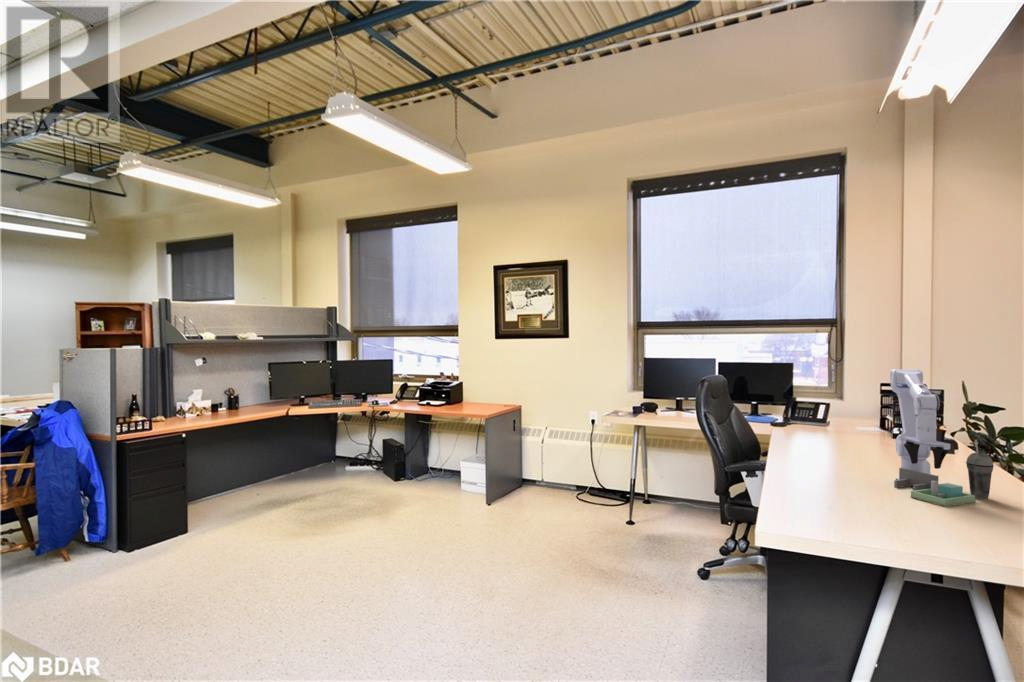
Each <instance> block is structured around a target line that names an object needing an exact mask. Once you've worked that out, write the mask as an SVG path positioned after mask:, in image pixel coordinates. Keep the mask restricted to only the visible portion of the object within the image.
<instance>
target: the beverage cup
mask: <svg viewBox="0 0 1024 682" xmlns="http://www.w3.org/2000/svg"><path fill="white" fill-rule="evenodd" d="M974 443H975V451H976V452H973V453H970V454H969V455H968V456H967V458H966V462H965V465H966V468H967V473H968V481H969V482H968V484H969V493H970V494H971V495H975V499H976V498H978V500H983V499H987V500H989V497H990V490H991V482H992V475H993V474H992V473H993V471H994V466H995V465H994V461H993V459H992V458H991V457H990V456H989V455H988V454H987V453H984V452H979V446H978V439H974Z"/></svg>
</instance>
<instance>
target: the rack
mask: <svg viewBox="0 0 1024 682" xmlns="http://www.w3.org/2000/svg"><path fill="white" fill-rule="evenodd" d="M898 468H899V470H898V471H899V472H898V475H899V476H898V478H899V480H896V479H894V482H893V483H894V484H893V485H894V488H896V487H898V488H902V487H901V486H906V487H911V486H913V487H912V491H915V490H923V489H930V488H931V481H938V482H939V475H935V474H931V473H930V474H927V473H923V472H918V471H914V470H909V469H905V468H901V467H898Z"/></svg>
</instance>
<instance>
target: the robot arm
mask: <svg viewBox="0 0 1024 682" xmlns="http://www.w3.org/2000/svg"><path fill="white" fill-rule="evenodd" d="M889 374H890V375H889V382H890V387H891V391H892V392H894V393H895V394H896V395H897V398H898V405H899V411H900V413H899V414H900V419H901V420H900V421H901V425H902V433H901V434H898V435H897V437H896V438H895V452H896V454H897V456H899V457H900V468H905V469H909V470H914V471H918V472H923V473H927V474H931V464H930V462H929V461H928V459H929V458H930V456H931V451H932V454H933V466H934V467H933V468H934V469H937V470H939V469H941V468H942V463H943V461H944V459H945V457H946V455H947V454H948V453H949V452H950V450H951V443H948V442H943V441H939V440H937V411H939V409H940V397H939V396H938V394H936V393H932V392H931V390H930V389H929V388H928V386H926V385H925V384H923V381H924V374H923V371H922V369H898V368H897V369H895V368H893V369H891V371H890V373H889ZM931 447H932V448H931ZM896 479H897V480H899V477H895V479H894V480H896Z"/></svg>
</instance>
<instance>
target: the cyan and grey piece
mask: <svg viewBox="0 0 1024 682" xmlns="http://www.w3.org/2000/svg"><path fill="white" fill-rule="evenodd" d="M963 489H964V487H963V486H962V485H958V484H953V483H950V482H946V483H939V480H938V481H931V496H934V497H938V498H941V497H942V498H946V499H947V498H954V497H961V496H963V493H964V492H963V491H964V490H963Z"/></svg>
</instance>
